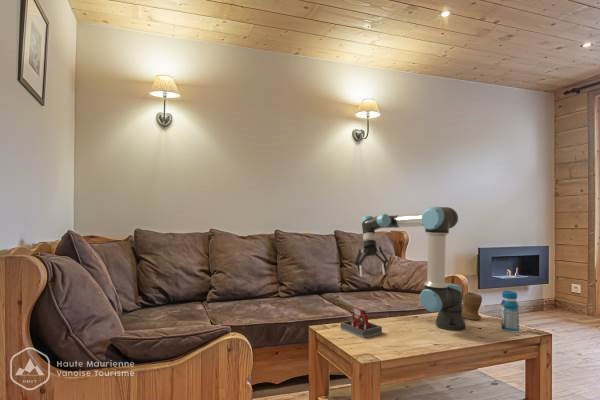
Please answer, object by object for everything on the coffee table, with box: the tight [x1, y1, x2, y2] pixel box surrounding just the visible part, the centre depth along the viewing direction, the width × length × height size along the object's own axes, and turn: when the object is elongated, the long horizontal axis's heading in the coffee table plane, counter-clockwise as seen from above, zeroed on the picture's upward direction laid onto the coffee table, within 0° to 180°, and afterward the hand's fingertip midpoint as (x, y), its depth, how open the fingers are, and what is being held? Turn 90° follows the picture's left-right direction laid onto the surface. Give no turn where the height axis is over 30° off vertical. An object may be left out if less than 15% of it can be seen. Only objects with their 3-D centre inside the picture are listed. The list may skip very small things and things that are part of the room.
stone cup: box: [462, 291, 483, 321], centre depth 222 cm, size 15×12×15 cm
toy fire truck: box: [351, 306, 371, 330], centre depth 195 cm, size 7×12×10 cm, turn 21°
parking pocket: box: [340, 319, 383, 339], centre depth 195 cm, size 17×13×4 cm
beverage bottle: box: [500, 290, 520, 333], centre depth 198 cm, size 8×8×20 cm
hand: (372, 275), depth 224 cm, fingers open, 13 cm apart
